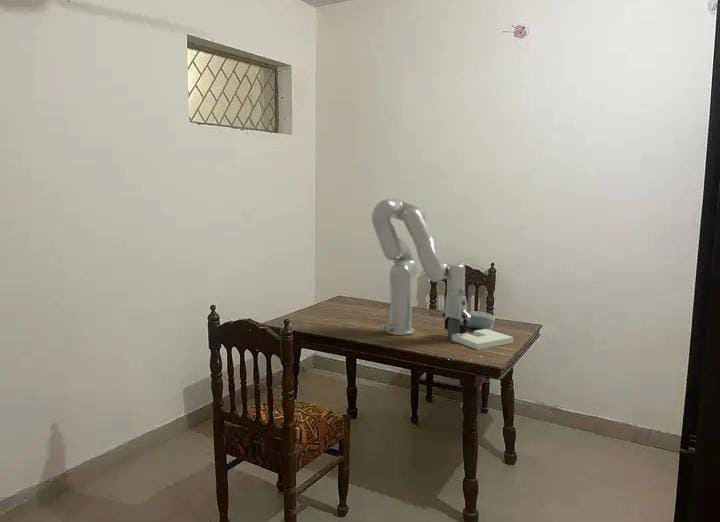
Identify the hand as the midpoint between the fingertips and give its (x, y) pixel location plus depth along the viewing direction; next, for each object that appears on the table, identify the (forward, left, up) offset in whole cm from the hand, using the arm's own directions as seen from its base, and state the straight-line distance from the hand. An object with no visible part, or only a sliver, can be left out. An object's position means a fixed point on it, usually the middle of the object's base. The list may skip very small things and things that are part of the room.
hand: (455, 331), depth 241 cm
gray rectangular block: (0, 0, -3) cm, 3 cm away
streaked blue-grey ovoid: (+20, +5, -3) cm, 21 cm away
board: (+6, -11, -3) cm, 12 cm away
